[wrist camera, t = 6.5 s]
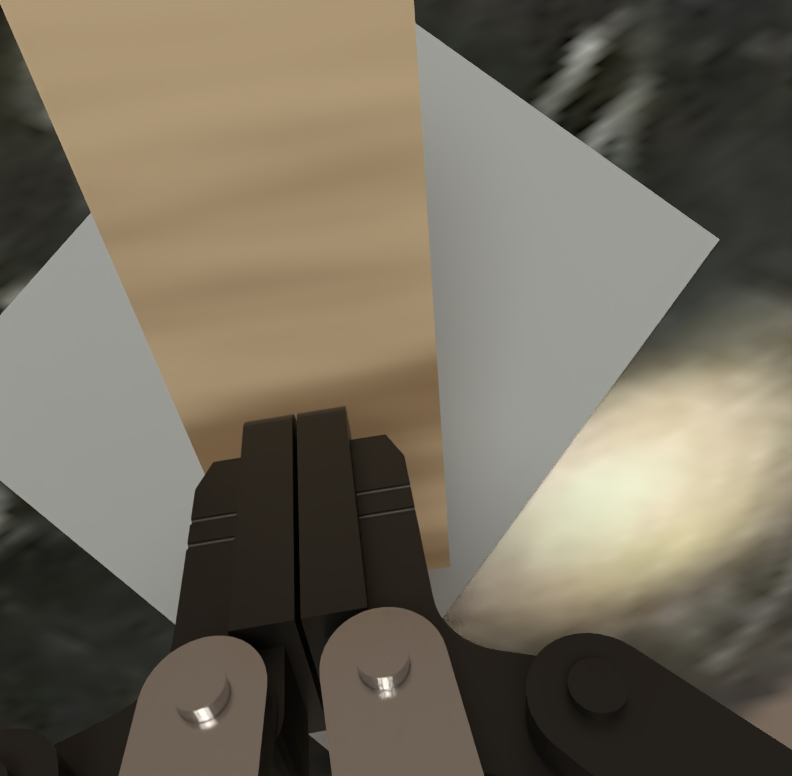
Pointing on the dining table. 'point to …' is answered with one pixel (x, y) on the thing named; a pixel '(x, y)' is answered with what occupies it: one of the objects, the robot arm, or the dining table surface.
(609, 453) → the dining table surface
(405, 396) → the birch block
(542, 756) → the robot arm
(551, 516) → the dining table surface
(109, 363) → the rubber mat
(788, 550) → the dining table surface
